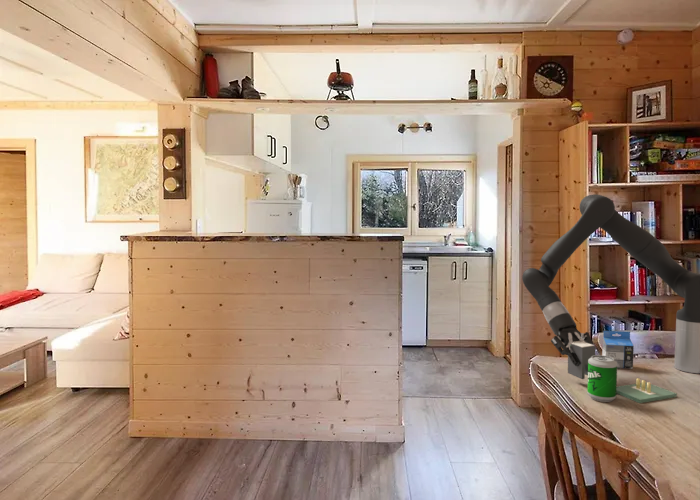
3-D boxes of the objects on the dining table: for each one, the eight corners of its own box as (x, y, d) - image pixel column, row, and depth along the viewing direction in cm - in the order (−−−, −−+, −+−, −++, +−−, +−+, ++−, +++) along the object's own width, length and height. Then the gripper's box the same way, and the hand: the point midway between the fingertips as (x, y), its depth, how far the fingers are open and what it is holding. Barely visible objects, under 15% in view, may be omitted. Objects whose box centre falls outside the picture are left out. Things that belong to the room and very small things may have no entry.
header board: (646, 385, 148) (646, 372, 148) (676, 396, 139) (677, 383, 138) (610, 390, 144) (611, 377, 144) (639, 403, 135) (640, 389, 134)
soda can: (613, 394, 141) (614, 355, 140) (618, 404, 134) (619, 363, 133) (585, 392, 143) (586, 353, 142) (589, 401, 136) (590, 360, 135)
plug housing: (580, 371, 154) (580, 340, 153) (594, 377, 148) (595, 345, 147) (567, 373, 153) (568, 342, 152) (581, 379, 147) (582, 347, 146)
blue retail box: (605, 367, 165) (606, 333, 164) (601, 364, 169) (602, 330, 168) (633, 369, 163) (634, 334, 162) (629, 365, 167) (630, 331, 166)
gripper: (546, 314, 154) (573, 361, 143) (582, 310, 158) (611, 355, 148) (535, 326, 159) (561, 372, 149) (570, 322, 164) (597, 366, 153)
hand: (585, 363), depth 148 cm, fingers closed on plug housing, 5 cm apart
